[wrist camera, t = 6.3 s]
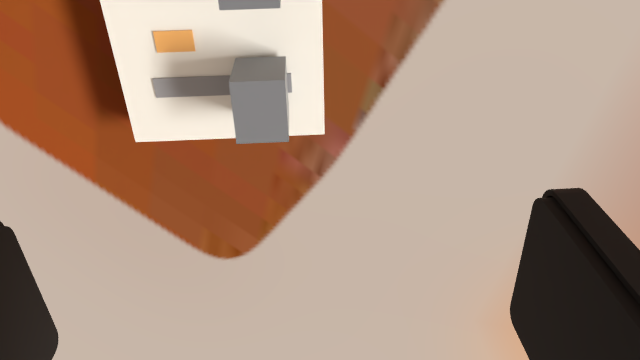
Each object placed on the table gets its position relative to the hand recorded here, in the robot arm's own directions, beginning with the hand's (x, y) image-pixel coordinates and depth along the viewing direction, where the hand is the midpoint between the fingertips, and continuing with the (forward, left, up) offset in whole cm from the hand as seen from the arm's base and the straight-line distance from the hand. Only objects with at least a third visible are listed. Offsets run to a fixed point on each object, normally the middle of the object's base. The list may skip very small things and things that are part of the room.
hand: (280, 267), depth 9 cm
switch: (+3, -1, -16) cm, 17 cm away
